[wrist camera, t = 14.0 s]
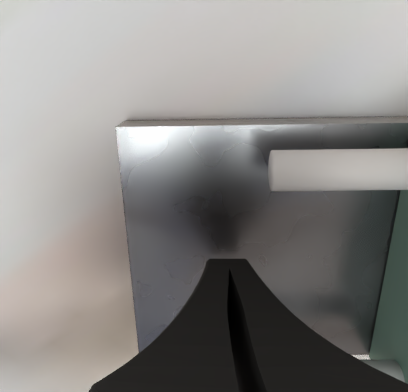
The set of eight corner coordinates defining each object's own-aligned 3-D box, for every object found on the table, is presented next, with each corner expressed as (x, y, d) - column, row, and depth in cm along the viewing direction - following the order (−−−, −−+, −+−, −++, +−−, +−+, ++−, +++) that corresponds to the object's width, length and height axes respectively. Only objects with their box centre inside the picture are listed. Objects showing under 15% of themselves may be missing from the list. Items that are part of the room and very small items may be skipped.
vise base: (568, 329, 17) (754, 465, 11) (145, 331, 17) (113, 464, 11) (661, 112, 13) (1005, 148, 7) (125, 120, 13) (64, 160, 8)
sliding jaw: (415, 356, 15) (483, 451, 11) (253, 356, 15) (267, 451, 12) (474, 122, 12) (600, 149, 8) (263, 125, 12) (288, 153, 8)
